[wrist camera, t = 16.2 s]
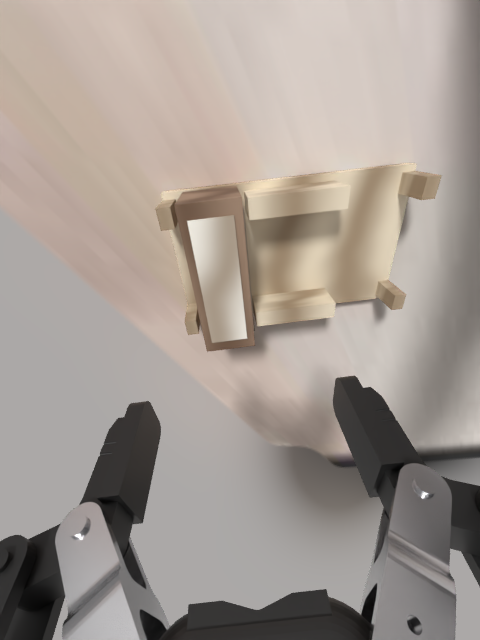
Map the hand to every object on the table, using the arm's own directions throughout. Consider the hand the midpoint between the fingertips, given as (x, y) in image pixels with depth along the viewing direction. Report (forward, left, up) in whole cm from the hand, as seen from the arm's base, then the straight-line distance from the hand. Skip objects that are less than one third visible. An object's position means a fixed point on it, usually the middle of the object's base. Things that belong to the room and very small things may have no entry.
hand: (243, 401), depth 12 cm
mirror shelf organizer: (-6, 0, -16) cm, 17 cm away
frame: (+1, 0, -15) cm, 15 cm away
